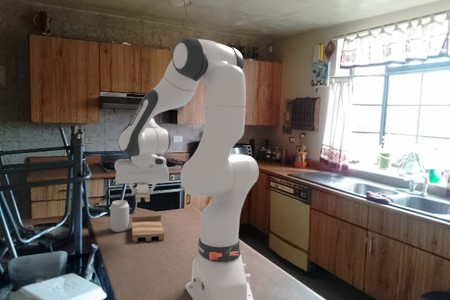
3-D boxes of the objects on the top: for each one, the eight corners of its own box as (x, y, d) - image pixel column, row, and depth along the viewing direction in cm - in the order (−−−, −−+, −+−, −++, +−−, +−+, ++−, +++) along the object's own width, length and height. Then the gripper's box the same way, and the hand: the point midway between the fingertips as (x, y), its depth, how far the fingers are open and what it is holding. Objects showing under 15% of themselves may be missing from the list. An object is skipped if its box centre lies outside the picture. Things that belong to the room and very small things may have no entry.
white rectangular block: (147, 192, 126) (148, 185, 126) (137, 193, 125) (137, 185, 125) (146, 188, 133) (146, 180, 133) (137, 188, 132) (137, 181, 132)
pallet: (149, 201, 126) (149, 193, 125) (136, 201, 124) (136, 194, 124) (147, 194, 135) (148, 187, 135) (135, 194, 134) (135, 187, 133)
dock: (164, 240, 130) (164, 227, 129) (132, 242, 126) (132, 229, 126) (160, 226, 145) (160, 215, 144) (132, 227, 142) (132, 216, 141)
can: (123, 233, 135) (123, 205, 133) (106, 231, 136) (106, 203, 135) (132, 227, 142) (132, 200, 141) (116, 225, 144) (116, 198, 142)
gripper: (114, 160, 122) (114, 196, 123) (170, 160, 127) (169, 195, 129) (114, 157, 128) (114, 192, 129) (168, 157, 133) (167, 191, 135)
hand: (142, 193), depth 129 cm, fingers closed on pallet, 5 cm apart
